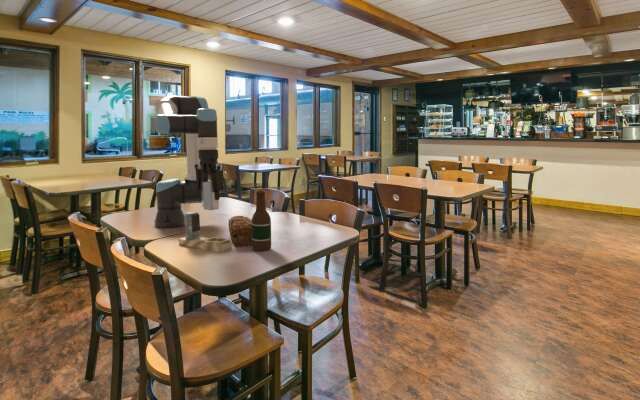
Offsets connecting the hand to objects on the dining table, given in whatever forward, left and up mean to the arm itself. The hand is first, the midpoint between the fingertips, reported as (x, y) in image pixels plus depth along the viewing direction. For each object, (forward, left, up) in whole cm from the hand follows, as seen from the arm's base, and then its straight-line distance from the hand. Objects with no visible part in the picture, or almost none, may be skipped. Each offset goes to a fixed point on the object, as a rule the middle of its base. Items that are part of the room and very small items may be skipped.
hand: (210, 207), depth 161 cm
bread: (+2, +16, -18) cm, 24 cm away
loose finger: (0, 0, -1) cm, 1 cm away
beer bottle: (+18, +10, -18) cm, 27 cm away
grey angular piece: (-5, +1, -17) cm, 18 cm away
